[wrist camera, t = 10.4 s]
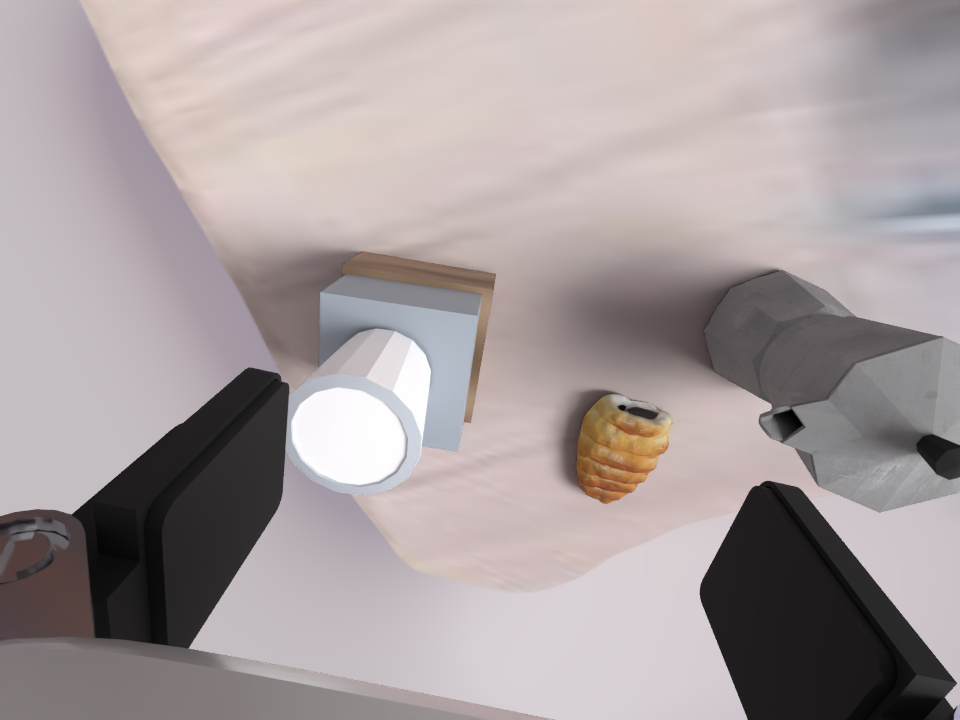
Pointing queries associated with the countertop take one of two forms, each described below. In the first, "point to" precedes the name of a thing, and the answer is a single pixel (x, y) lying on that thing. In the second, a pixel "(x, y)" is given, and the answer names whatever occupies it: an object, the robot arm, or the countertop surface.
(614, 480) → the pastry
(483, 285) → the walnut base block
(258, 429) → the robot arm
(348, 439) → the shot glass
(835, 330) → the coffeepot
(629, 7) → the countertop surface
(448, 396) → the grey top block
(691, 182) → the countertop surface
